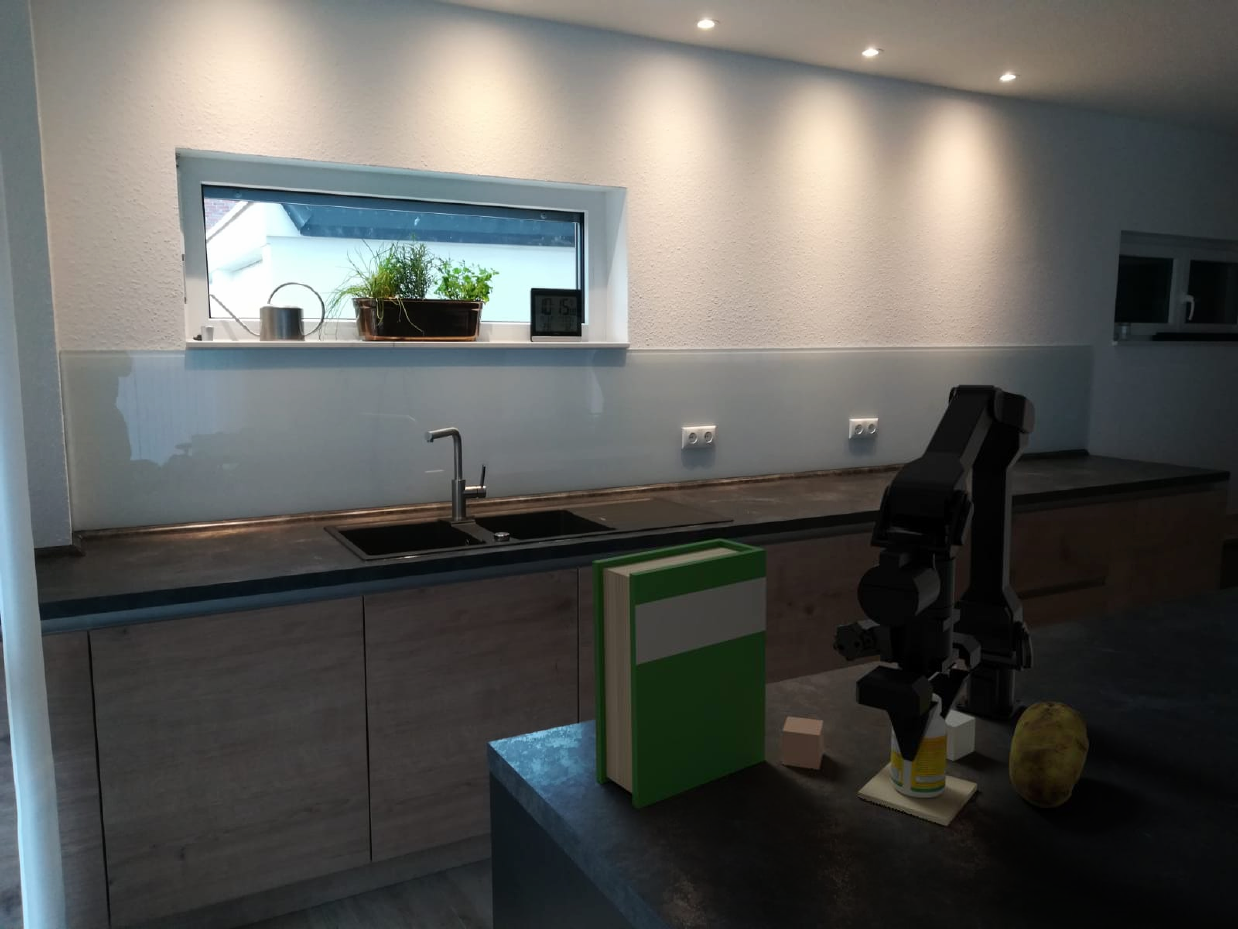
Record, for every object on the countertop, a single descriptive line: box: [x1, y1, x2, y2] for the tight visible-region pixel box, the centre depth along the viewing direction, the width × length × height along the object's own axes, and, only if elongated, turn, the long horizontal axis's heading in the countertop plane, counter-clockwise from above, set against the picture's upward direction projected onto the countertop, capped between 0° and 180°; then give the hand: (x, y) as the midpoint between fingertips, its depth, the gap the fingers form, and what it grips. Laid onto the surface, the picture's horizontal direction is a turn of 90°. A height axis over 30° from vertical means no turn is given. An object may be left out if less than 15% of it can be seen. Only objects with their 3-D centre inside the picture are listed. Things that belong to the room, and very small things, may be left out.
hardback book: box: [592, 538, 767, 810], centre depth 96 cm, size 18×7×24 cm, turn 125°
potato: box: [1008, 701, 1090, 809], centre depth 92 cm, size 8×13×8 cm, turn 132°
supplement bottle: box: [890, 693, 948, 798], centre depth 91 cm, size 5×5×10 cm
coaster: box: [857, 761, 978, 827], centre depth 91 cm, size 9×9×1 cm
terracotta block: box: [781, 716, 824, 770], centre depth 99 cm, size 4×4×4 cm
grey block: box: [945, 709, 976, 762], centre depth 101 cm, size 4×4×4 cm
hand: (919, 749), depth 91 cm, fingers open, 6 cm apart
